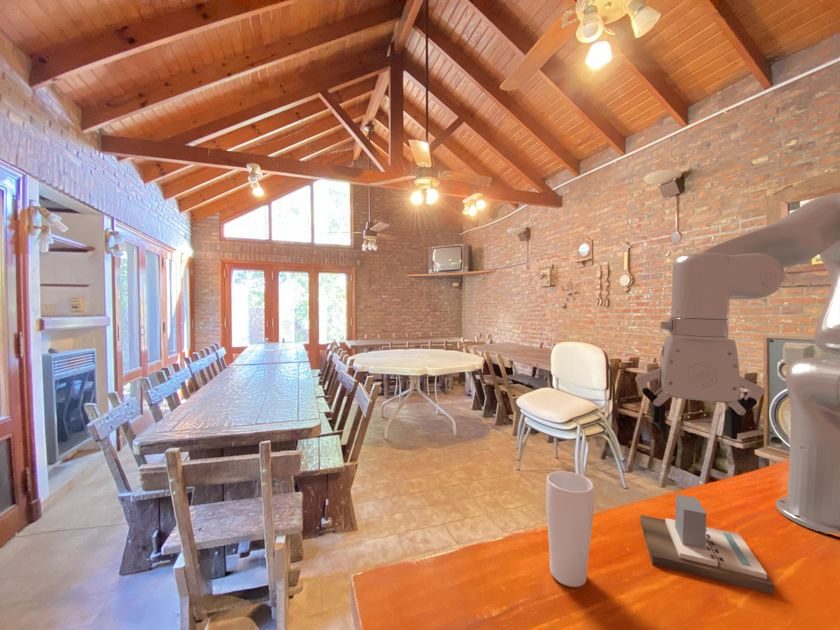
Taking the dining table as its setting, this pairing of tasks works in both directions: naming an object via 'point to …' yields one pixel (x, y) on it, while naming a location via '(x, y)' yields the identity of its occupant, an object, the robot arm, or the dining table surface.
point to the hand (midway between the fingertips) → (693, 431)
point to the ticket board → (727, 548)
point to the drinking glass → (569, 525)
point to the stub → (690, 531)
